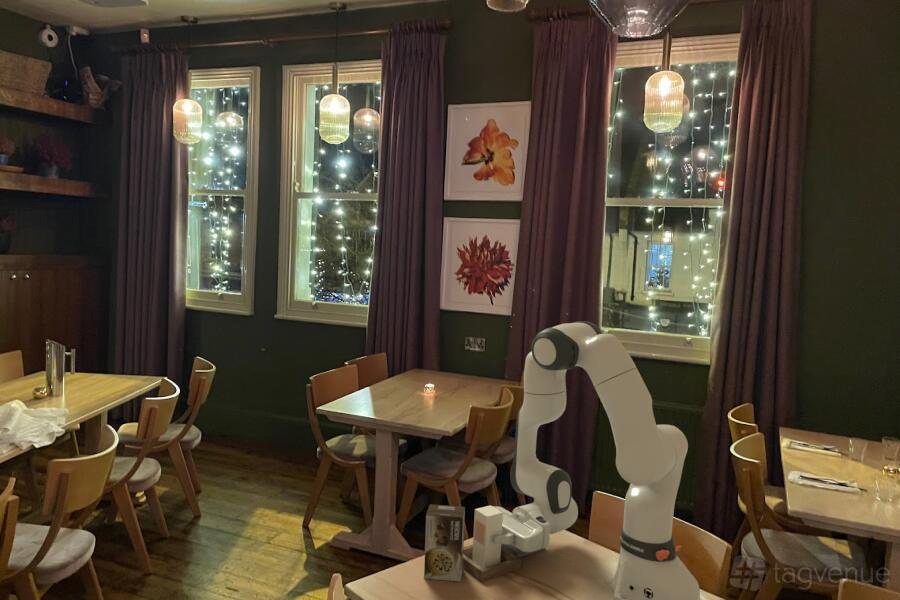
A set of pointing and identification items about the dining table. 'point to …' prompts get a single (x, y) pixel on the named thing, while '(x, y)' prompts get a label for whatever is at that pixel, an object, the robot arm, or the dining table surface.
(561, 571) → the dining table surface
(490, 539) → the off-white box
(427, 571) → the coffee box
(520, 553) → the blue-grey square slab
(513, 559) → the walnut crate
